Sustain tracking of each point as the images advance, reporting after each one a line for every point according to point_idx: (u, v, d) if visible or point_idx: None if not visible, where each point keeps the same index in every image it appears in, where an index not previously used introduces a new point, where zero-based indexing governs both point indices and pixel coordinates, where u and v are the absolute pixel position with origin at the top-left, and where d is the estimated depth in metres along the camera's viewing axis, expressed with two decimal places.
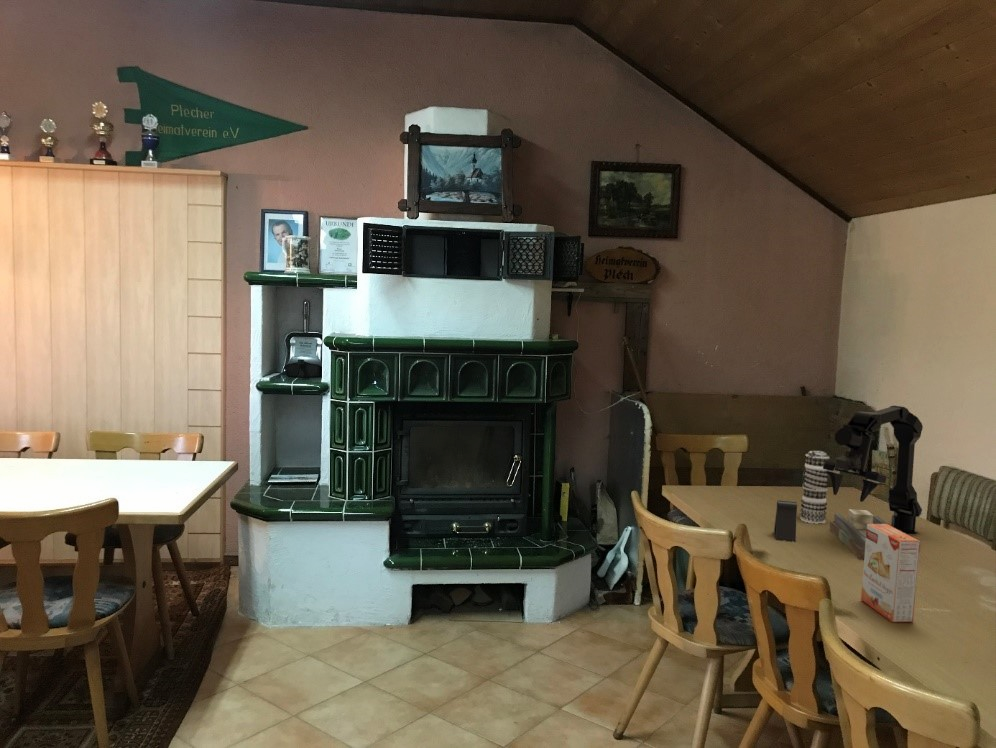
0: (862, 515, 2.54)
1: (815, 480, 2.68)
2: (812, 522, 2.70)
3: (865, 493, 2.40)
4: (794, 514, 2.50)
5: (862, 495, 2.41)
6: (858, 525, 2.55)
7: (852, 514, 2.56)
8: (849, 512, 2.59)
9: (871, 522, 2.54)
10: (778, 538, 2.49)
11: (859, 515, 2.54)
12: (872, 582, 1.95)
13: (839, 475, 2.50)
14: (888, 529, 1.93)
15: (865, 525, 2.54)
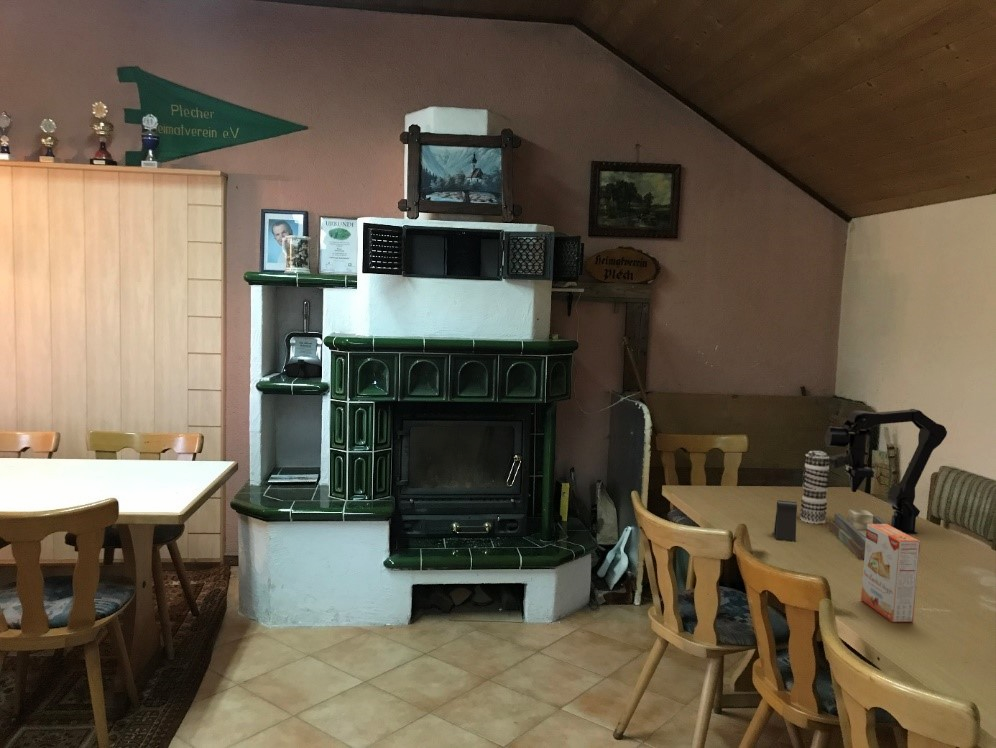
0: (862, 515, 2.54)
1: (815, 480, 2.68)
2: (812, 522, 2.70)
3: (853, 484, 2.63)
4: (794, 514, 2.50)
5: (852, 486, 2.64)
6: (858, 525, 2.55)
7: (852, 514, 2.56)
8: (849, 512, 2.59)
9: (871, 522, 2.54)
10: (778, 538, 2.49)
11: (859, 515, 2.54)
12: (872, 582, 1.95)
13: None
14: (888, 529, 1.93)
15: (865, 525, 2.54)
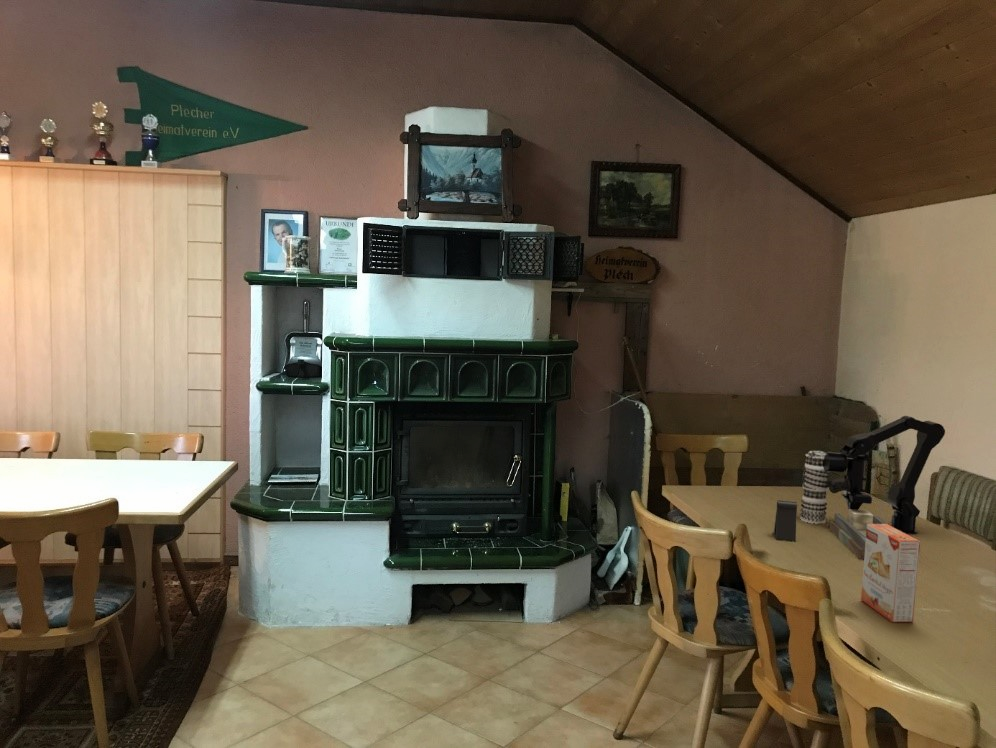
0: (862, 515, 2.54)
1: (815, 480, 2.68)
2: (812, 522, 2.70)
3: None
4: (794, 514, 2.50)
5: None
6: (858, 525, 2.55)
7: (852, 514, 2.56)
8: (849, 512, 2.59)
9: (871, 522, 2.54)
10: (778, 538, 2.49)
11: (859, 515, 2.54)
12: (872, 582, 1.95)
13: None
14: (888, 529, 1.93)
15: (865, 525, 2.54)
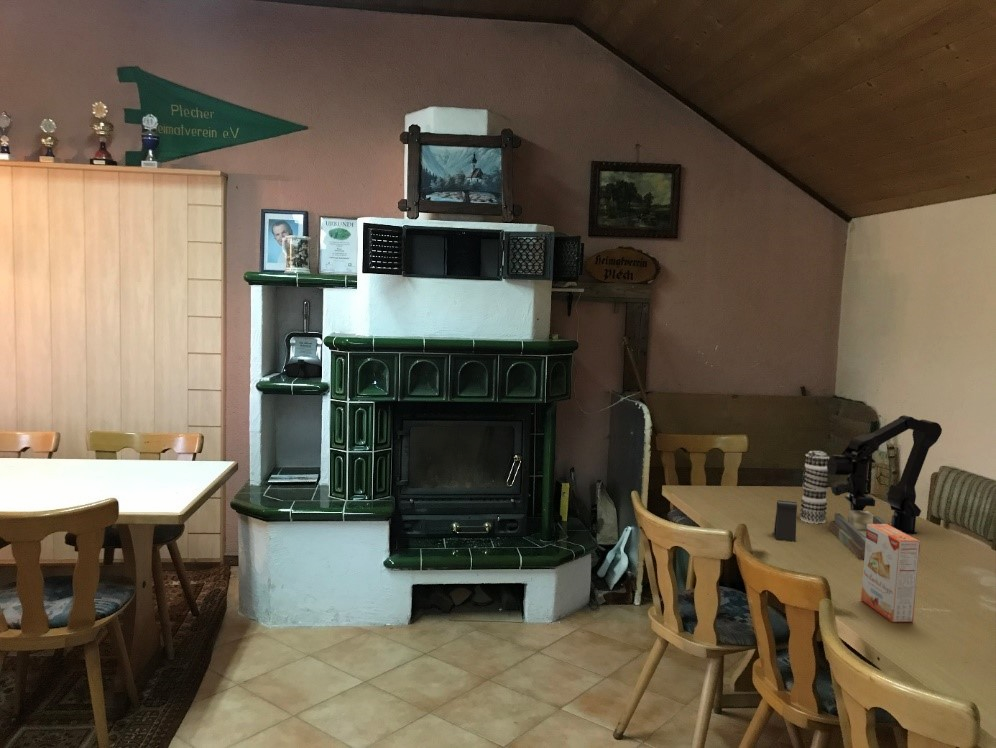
0: (862, 515, 2.54)
1: (815, 480, 2.68)
2: (812, 522, 2.70)
3: None
4: (794, 514, 2.50)
5: None
6: (858, 525, 2.54)
7: (852, 514, 2.56)
8: (849, 512, 2.59)
9: (871, 522, 2.54)
10: (778, 538, 2.49)
11: (859, 515, 2.54)
12: (872, 582, 1.95)
13: None
14: (888, 529, 1.93)
15: (865, 525, 2.54)
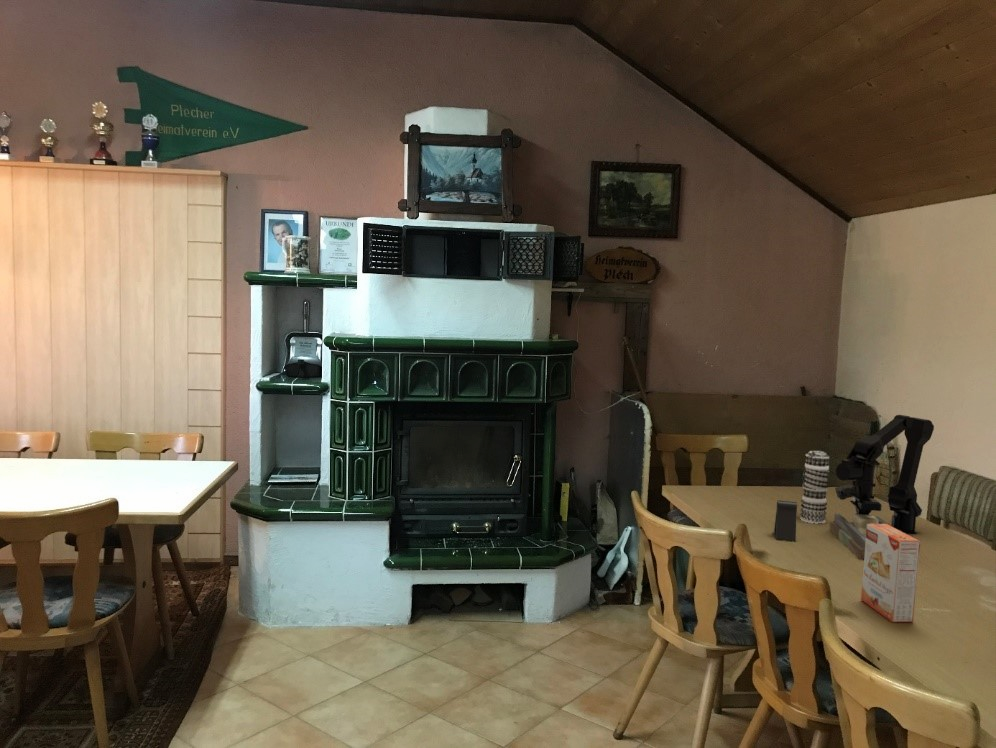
0: (867, 520, 2.48)
1: (815, 480, 2.68)
2: (812, 522, 2.70)
3: None
4: (794, 514, 2.50)
5: None
6: (863, 530, 2.49)
7: (857, 519, 2.50)
8: (854, 517, 2.53)
9: None
10: (778, 538, 2.49)
11: (864, 520, 2.48)
12: (872, 581, 1.95)
13: None
14: (888, 529, 1.93)
15: None
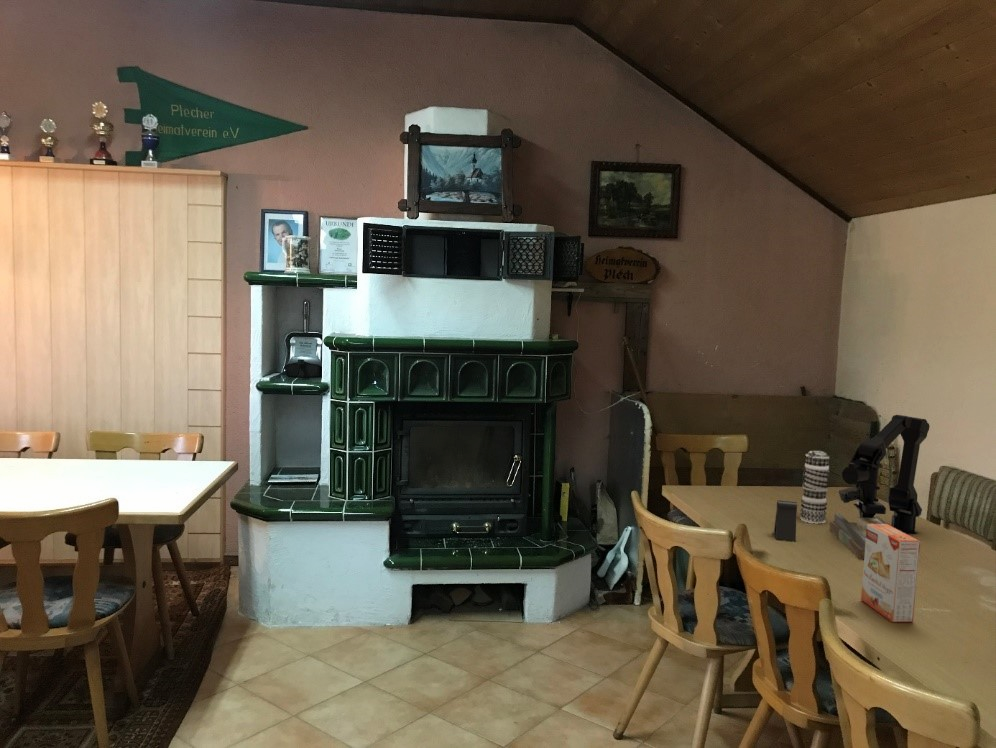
0: (871, 523, 2.45)
1: (815, 480, 2.68)
2: (812, 522, 2.70)
3: None
4: (794, 514, 2.50)
5: None
6: None
7: (861, 522, 2.47)
8: (858, 520, 2.50)
9: None
10: (778, 538, 2.49)
11: (868, 523, 2.45)
12: (872, 582, 1.95)
13: None
14: (888, 529, 1.93)
15: None
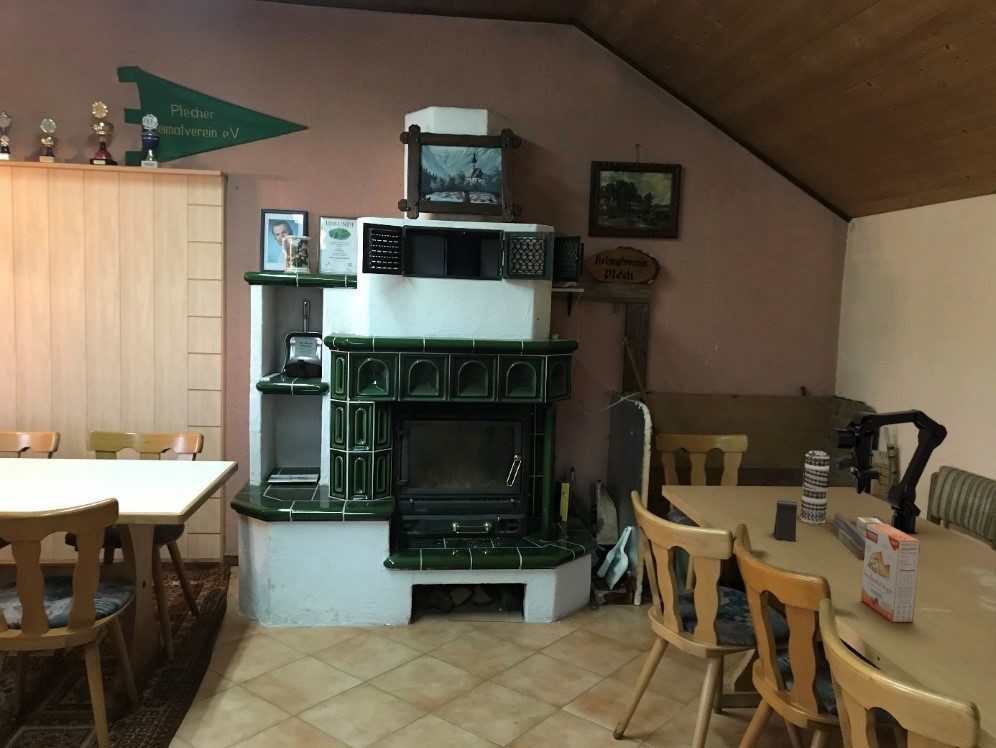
0: (871, 523, 2.45)
1: (815, 480, 2.68)
2: (812, 522, 2.70)
3: (859, 486, 2.61)
4: (794, 514, 2.50)
5: (857, 488, 2.62)
6: None
7: (861, 522, 2.47)
8: (858, 520, 2.50)
9: None
10: (778, 538, 2.49)
11: (868, 523, 2.45)
12: (872, 581, 1.95)
13: None
14: (888, 529, 1.93)
15: None
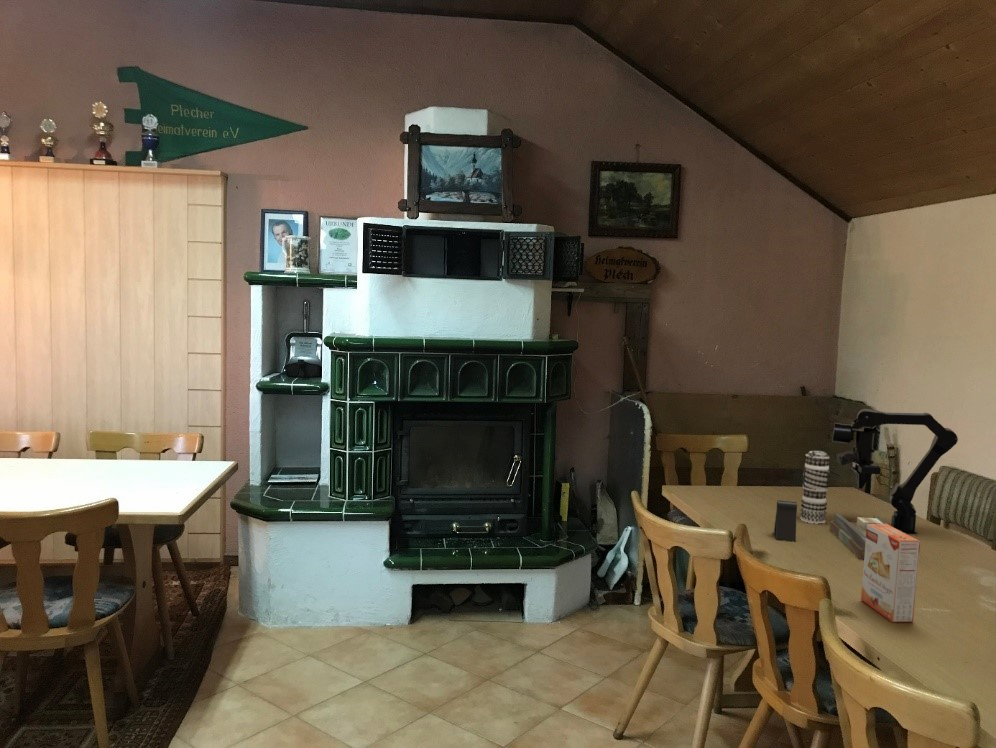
0: (871, 523, 2.45)
1: (815, 480, 2.68)
2: (812, 522, 2.70)
3: (860, 481, 2.68)
4: (794, 514, 2.50)
5: (858, 483, 2.69)
6: None
7: (861, 522, 2.47)
8: (858, 520, 2.50)
9: None
10: (778, 538, 2.49)
11: (868, 523, 2.45)
12: (872, 582, 1.95)
13: None
14: (888, 529, 1.93)
15: None
